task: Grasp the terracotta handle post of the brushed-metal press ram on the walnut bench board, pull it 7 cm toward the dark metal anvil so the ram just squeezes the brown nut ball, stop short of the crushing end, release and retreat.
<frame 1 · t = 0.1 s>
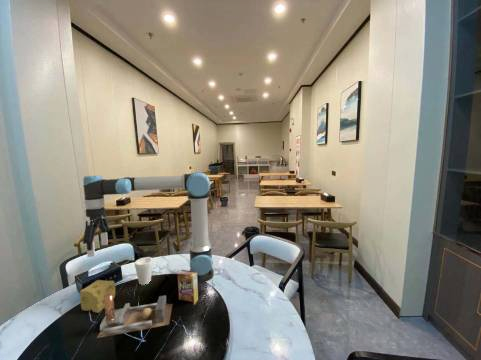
hand: (98, 250, 97), 28 cm above the table, fingers open, 13 cm apart
candy box: (188, 301, 100), on the table
foam cup: (145, 282, 118), on the table
cheese: (98, 304, 99), on the table
bench board: (138, 322, 87), on the table
ram: (114, 308, 85), point 8 cm above the table, slide at 0.0 cm
nut: (147, 317, 88), point 1 cm above the table, touching bench board
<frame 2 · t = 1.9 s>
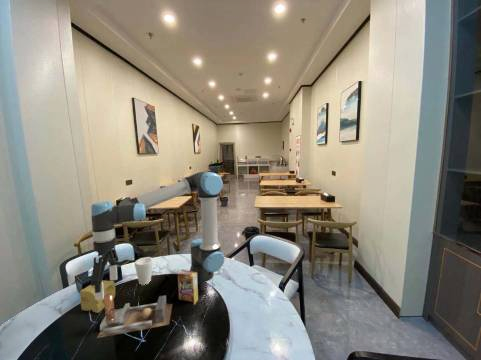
hand: (107, 288, 83), 17 cm above the table, fingers open, 13 cm apart
nothing on the table moved.
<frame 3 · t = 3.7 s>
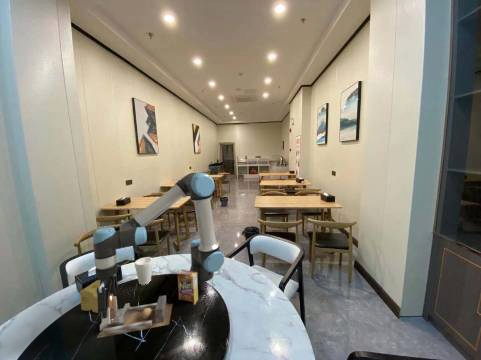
hand: (110, 317, 84), 5 cm above the table, fingers closed on ram, 7 cm apart
ram: (114, 308, 85), point 8 cm above the table, slide at 0.0 cm, touching gripper
everything else where it was.
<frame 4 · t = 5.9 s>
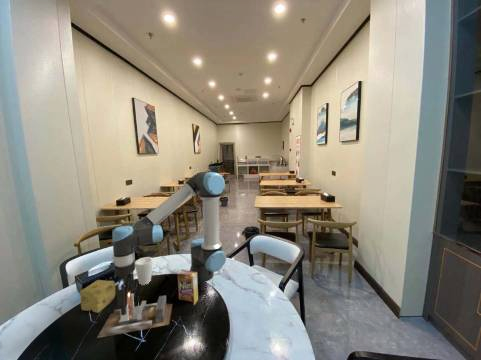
hand: (127, 314, 86), 5 cm above the table, fingers closed on ram, 7 cm apart
ram: (132, 305, 86), point 8 cm above the table, slide at 6.9 cm, touching gripper
nut: (148, 314, 88), point 3 cm above the table, tilted 70°, touching bench board
everything else where it was.
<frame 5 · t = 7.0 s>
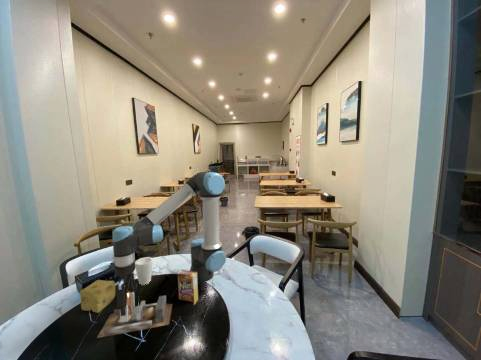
hand: (128, 313, 86), 5 cm above the table, fingers open, 8 cm apart
ram: (131, 305, 86), point 8 cm above the table, slide at 6.6 cm
nut: (147, 316, 88), point 2 cm above the table, tilted 48°, touching bench board
everything else where it was.
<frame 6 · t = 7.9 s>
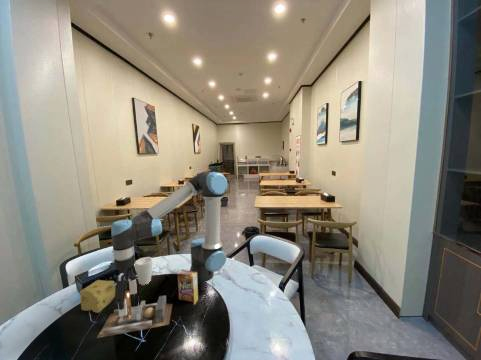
hand: (128, 303, 86), 9 cm above the table, fingers open, 13 cm apart
nut: (147, 316, 88), point 2 cm above the table, tilted 30°, touching bench board
everything else where it was.
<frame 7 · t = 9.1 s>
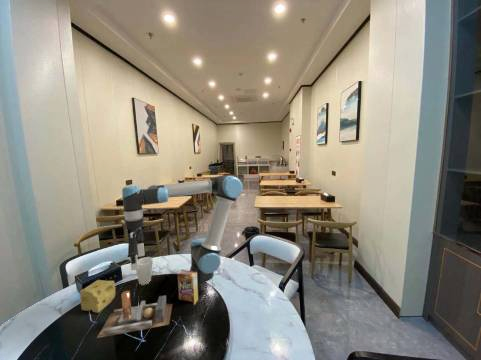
hand: (138, 262, 94), 23 cm above the table, fingers open, 13 cm apart
nut: (147, 317, 88), point 2 cm above the table, tilted 19°, touching bench board
everything else where it was.
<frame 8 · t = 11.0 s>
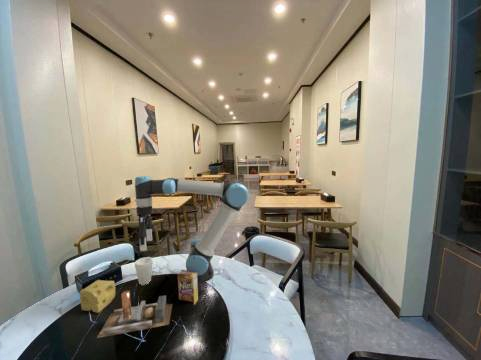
hand: (146, 245, 105), 27 cm above the table, fingers open, 13 cm apart
nut: (147, 316, 88), point 2 cm above the table, tilted 32°, touching bench board
everything else where it was.
at the end: ram slide at 6.6 cm; nut inside the target area (0.6 cm from its centre), point 1.8 cm above the table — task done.
